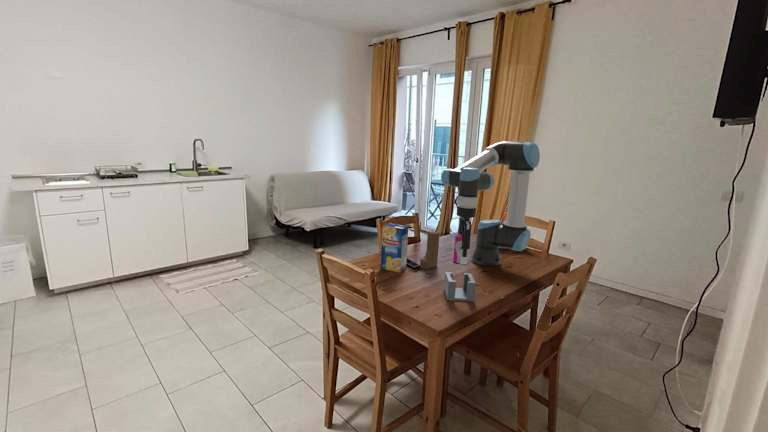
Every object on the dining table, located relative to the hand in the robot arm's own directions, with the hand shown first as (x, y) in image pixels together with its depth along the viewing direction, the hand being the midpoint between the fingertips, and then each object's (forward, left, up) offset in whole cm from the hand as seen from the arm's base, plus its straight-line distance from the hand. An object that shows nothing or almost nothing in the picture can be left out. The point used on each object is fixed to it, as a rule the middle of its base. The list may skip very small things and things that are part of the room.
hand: (461, 260), depth 153 cm
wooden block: (+10, -33, -16) cm, 38 cm away
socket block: (0, 0, -15) cm, 15 cm away
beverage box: (+28, -28, -16) cm, 43 cm away
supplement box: (0, 0, -1) cm, 1 cm away
